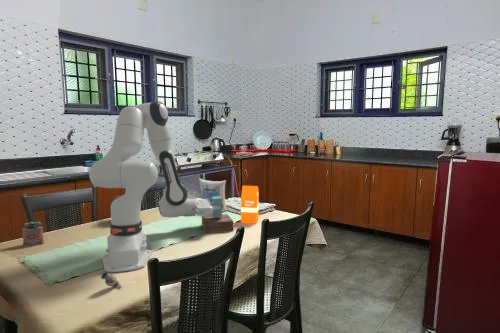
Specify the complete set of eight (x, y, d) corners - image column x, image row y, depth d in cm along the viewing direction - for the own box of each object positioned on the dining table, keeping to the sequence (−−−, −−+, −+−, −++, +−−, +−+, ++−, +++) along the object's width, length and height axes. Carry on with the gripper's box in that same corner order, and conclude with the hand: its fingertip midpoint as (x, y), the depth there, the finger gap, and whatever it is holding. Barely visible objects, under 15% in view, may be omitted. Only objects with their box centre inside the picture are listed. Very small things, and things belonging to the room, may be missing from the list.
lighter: (21, 246, 145) (20, 224, 144) (24, 243, 148) (23, 221, 147) (42, 244, 147) (41, 222, 146) (45, 242, 150) (43, 220, 149)
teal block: (222, 217, 171) (222, 198, 170) (213, 217, 170) (213, 198, 169) (220, 215, 175) (220, 196, 174) (211, 215, 174) (211, 196, 173)
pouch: (203, 207, 217) (203, 177, 215) (229, 210, 209) (229, 179, 207) (196, 209, 210) (196, 178, 208) (222, 213, 202) (222, 181, 200)
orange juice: (256, 223, 182) (257, 187, 180) (240, 222, 183) (240, 186, 181) (258, 219, 190) (258, 184, 187) (243, 218, 191) (243, 184, 189)
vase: (105, 295, 104) (103, 276, 104) (99, 289, 108) (97, 271, 108) (122, 289, 107) (120, 271, 107) (116, 284, 112) (114, 267, 111)
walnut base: (233, 230, 169) (233, 221, 168) (205, 233, 165) (205, 223, 164) (227, 223, 182) (227, 214, 181) (201, 225, 178) (201, 215, 177)
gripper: (194, 206, 158) (222, 204, 162) (189, 197, 178) (215, 195, 181) (194, 219, 159) (222, 217, 163) (189, 208, 178) (215, 207, 182)
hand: (218, 205), depth 172 cm, fingers closed on teal block, 4 cm apart
